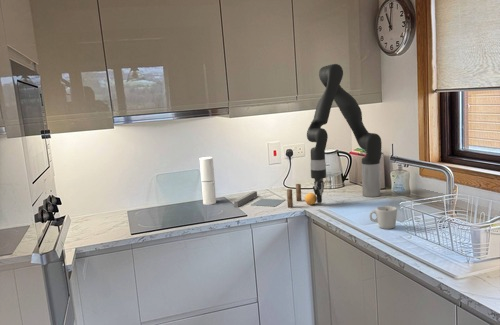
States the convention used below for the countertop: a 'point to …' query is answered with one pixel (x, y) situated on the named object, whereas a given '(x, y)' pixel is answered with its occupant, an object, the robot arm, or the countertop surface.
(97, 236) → the countertop surface
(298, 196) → the post
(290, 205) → the post
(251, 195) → the stopper wall
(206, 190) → the cylindrical container
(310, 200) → the ball
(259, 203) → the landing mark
